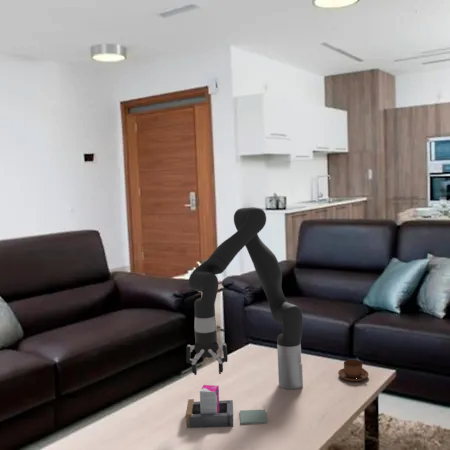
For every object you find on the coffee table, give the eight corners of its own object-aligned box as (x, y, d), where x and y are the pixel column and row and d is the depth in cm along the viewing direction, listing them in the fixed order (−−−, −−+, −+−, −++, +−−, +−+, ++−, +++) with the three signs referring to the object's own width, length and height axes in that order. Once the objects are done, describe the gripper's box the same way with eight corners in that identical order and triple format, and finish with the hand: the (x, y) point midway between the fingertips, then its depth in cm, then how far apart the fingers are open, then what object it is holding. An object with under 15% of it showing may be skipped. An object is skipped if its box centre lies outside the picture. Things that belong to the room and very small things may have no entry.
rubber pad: (265, 411, 189) (265, 409, 189) (266, 423, 180) (266, 421, 180) (240, 412, 189) (240, 410, 189) (240, 424, 180) (240, 422, 180)
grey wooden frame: (233, 410, 190) (232, 397, 190) (233, 426, 179) (232, 412, 178) (189, 412, 191) (188, 399, 190) (186, 428, 179) (185, 414, 178)
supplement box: (217, 423, 181) (215, 392, 180) (200, 422, 182) (198, 391, 181) (220, 415, 187) (218, 385, 186) (204, 415, 188) (202, 384, 187)
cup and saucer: (372, 374, 216) (372, 360, 216) (363, 385, 206) (362, 370, 206) (344, 370, 223) (343, 356, 222) (334, 380, 213) (333, 365, 212)
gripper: (226, 324, 185) (228, 369, 186) (185, 326, 185) (188, 370, 187) (226, 331, 177) (228, 377, 179) (184, 332, 178) (186, 378, 179)
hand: (207, 373), depth 183 cm, fingers open, 8 cm apart
